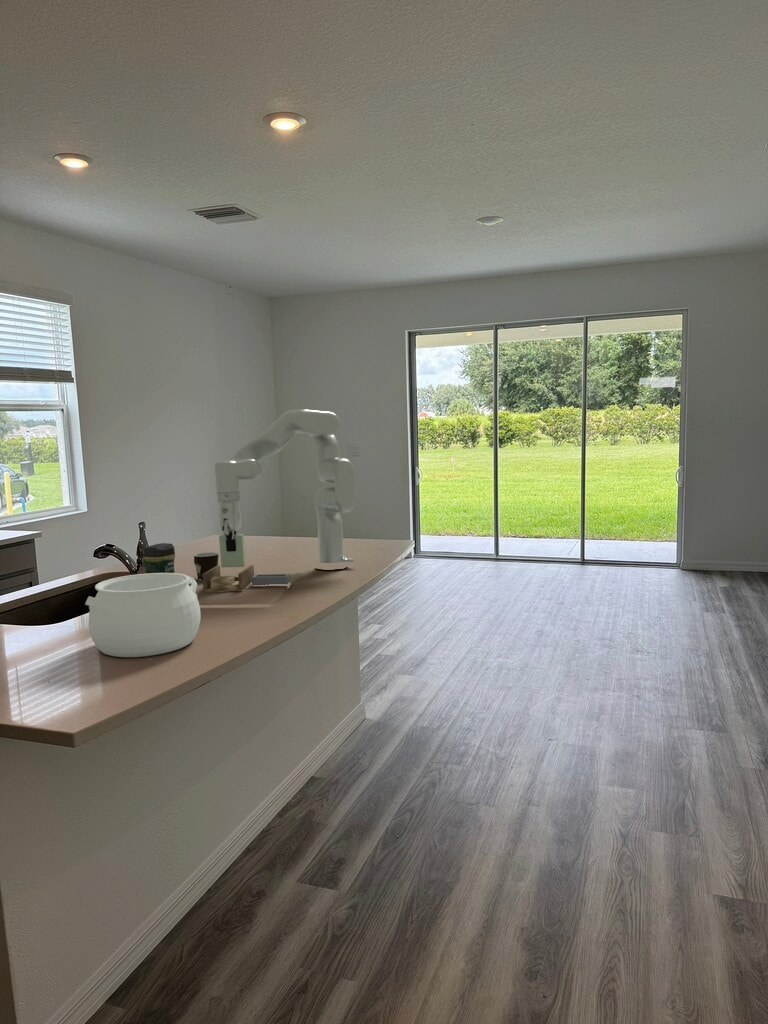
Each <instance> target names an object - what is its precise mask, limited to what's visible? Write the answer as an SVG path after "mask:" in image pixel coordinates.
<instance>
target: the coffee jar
mask: <svg viewBox="0 0 768 1024" xmlns="http://www.w3.org/2000/svg"><path fill="white" fill-rule="evenodd" d="M175 551H176V549H175V546H174V545H173V543H167V542H165V543H164V542H162V543H155V544H152V545H148V546H145V548H144V549H143V560H144V563H145V574H148V573H175V572H176V571H175V559H176V558H175V557H176V552H175Z"/></svg>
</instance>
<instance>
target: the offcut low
mask: <svg viewBox="0 0 768 1024" xmlns="http://www.w3.org/2000/svg"><path fill="white" fill-rule="evenodd" d="M211 588H239V582H234V583H233V584H232V585H211Z"/></svg>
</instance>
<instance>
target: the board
mask: <svg viewBox="0 0 768 1024" xmlns="http://www.w3.org/2000/svg"><path fill="white" fill-rule="evenodd" d="M244 535H245V534H244V533H241V534H239V533H237V534H234V540H235V542H236V551H230V552H227V550H226V539H225V535H224V534H219V535H218V541H219V556H220V569H222V568H244V567H246V565H247V563H246V562H247V561H246V546H245V536H244Z"/></svg>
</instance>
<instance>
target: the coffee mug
mask: <svg viewBox="0 0 768 1024" xmlns="http://www.w3.org/2000/svg"><path fill="white" fill-rule="evenodd" d="M219 556H220V553H219V552H209V551H208V552H200V553H195V554H193V564H194V566H195V569H196V570H195V571H196V575H197V580H198V579H201V580H203V575H202V574H204V573H205V572H207V571H209V570H211V569H212V568H214V567H216V566H219Z"/></svg>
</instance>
